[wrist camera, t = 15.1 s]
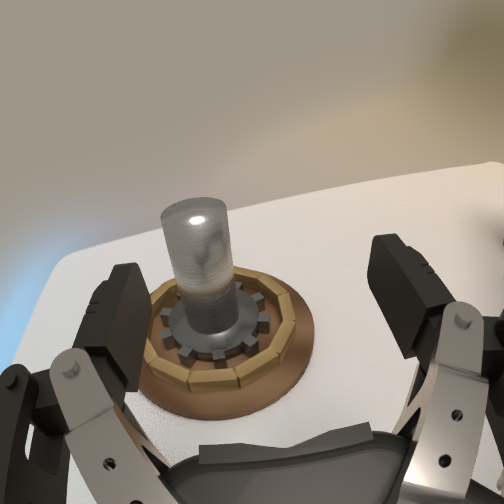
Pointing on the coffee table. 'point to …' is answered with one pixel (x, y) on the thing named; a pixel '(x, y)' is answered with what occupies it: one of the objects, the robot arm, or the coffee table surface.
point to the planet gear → (207, 288)
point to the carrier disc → (240, 367)
